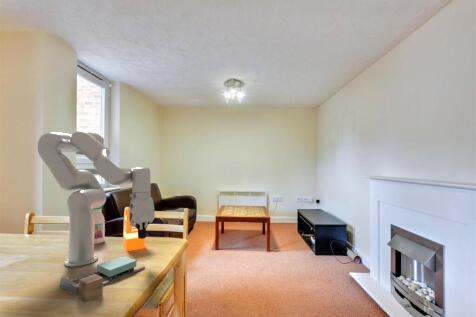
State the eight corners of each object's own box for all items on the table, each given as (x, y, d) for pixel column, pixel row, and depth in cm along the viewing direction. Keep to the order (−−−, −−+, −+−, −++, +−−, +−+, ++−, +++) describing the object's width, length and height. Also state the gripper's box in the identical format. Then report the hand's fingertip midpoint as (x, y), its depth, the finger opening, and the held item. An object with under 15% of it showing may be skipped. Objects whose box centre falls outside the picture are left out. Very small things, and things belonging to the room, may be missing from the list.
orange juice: (144, 248, 127) (145, 209, 128) (126, 251, 122) (126, 210, 123) (141, 244, 134) (141, 207, 134) (123, 247, 129) (124, 208, 129)
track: (60, 286, 87) (60, 278, 87) (127, 262, 109) (127, 255, 109) (76, 296, 80) (76, 287, 80) (144, 268, 102) (144, 261, 102)
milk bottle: (92, 240, 140) (93, 204, 141) (106, 239, 141) (107, 204, 141) (85, 244, 132) (86, 207, 133) (100, 244, 133) (101, 206, 134)
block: (78, 298, 80) (78, 279, 80) (94, 291, 84) (94, 273, 84) (86, 303, 77) (86, 283, 77) (102, 296, 81) (102, 277, 81)
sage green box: (96, 275, 96) (97, 264, 96) (123, 265, 105) (123, 256, 105) (109, 281, 91) (109, 270, 91) (136, 270, 100) (136, 260, 101)
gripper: (131, 198, 100) (131, 244, 99) (161, 194, 112) (161, 234, 112) (120, 197, 104) (120, 241, 103) (150, 193, 116) (150, 232, 116)
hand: (141, 237), depth 107 cm, fingers closed
